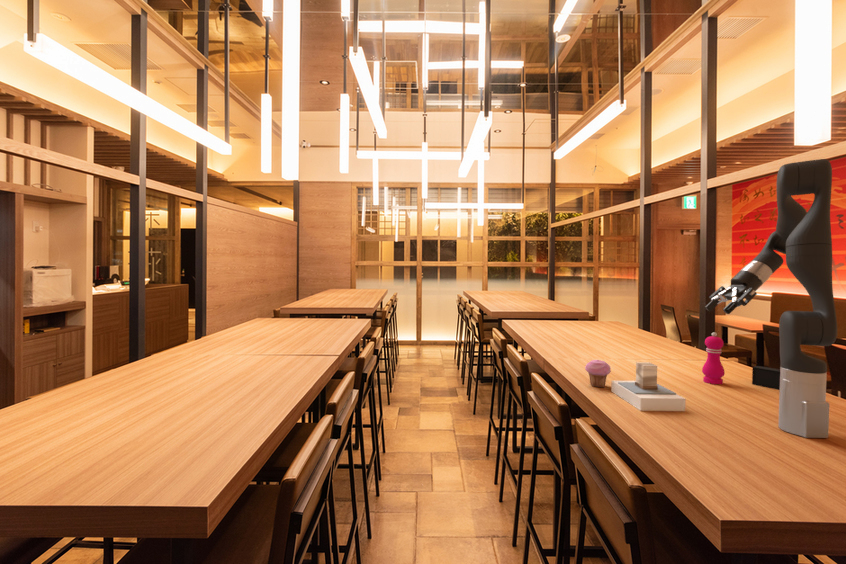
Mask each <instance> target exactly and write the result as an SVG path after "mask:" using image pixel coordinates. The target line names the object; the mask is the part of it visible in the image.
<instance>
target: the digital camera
mask: <svg viewBox="0 0 846 564" xmlns="http://www.w3.org/2000/svg"><path fill="white" fill-rule="evenodd" d="M751 371H752V376H751V378H752V379H751V385H754V386H760V387H762V388H769V389H773V390H778V391H780V368H779V369H778V368H774V367H773V368H772V367H768V366H761V365H755V366H752V370H751Z"/></svg>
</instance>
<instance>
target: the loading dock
mask: <svg viewBox="0 0 846 564" xmlns="http://www.w3.org/2000/svg"><path fill="white" fill-rule="evenodd" d="M635 382H636V380H615V379H614V380H611V384H610V385H611V386H610V387H611V388H610V389H611V391H610V392H611V393H613V394H615V395H616V396H617V397H619V398H621V399H622V400H624V401H625V402H627V403H628V404H630V405H631V406H633V407H634V408H635V409H637V410H638V411H641V412H651V411H652V412H686V401H687V400H686V398H685V397H684V396H681V395H679V394H677V393H676V392H675V391H673V390H671V389H668V388H667V387H665V386H662V385H660V384H659V383H657V386H658V390H645V389H641V388H639V387H637V386H636V385H635Z"/></svg>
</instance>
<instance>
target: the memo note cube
mask: <svg viewBox="0 0 846 564" xmlns="http://www.w3.org/2000/svg"><path fill="white" fill-rule="evenodd" d="M635 368H636V369H635V381H636V382H635V385H636V386H637V387H639V388H641V389H645V390H658V386H657V384H658V365H657V364H654V363H652V362H641V361H639V362H635Z"/></svg>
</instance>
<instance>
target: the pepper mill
mask: <svg viewBox="0 0 846 564" xmlns="http://www.w3.org/2000/svg"><path fill="white" fill-rule="evenodd" d="M704 345H705V346H706V348H705V351H706V353H707V357H706V360H705V362H704V364H703V365H702V370H701V372H702V374H703V378H702V381H703V382H704V383H706V384H709V383H711V384H710V385H716V384H721V385H723V383H724V379H723V377H724V376H725V374H726V373H725V368H724V366H723V364H722V362H721V354H722V351H723V349H722V348H723V347H724V345H725V344H724V340H723V339H722V338H721V337H720V336H718V334H717V332H715V331H714V332H712V333H711V336H707V337H706V338H705V340H704Z"/></svg>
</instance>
